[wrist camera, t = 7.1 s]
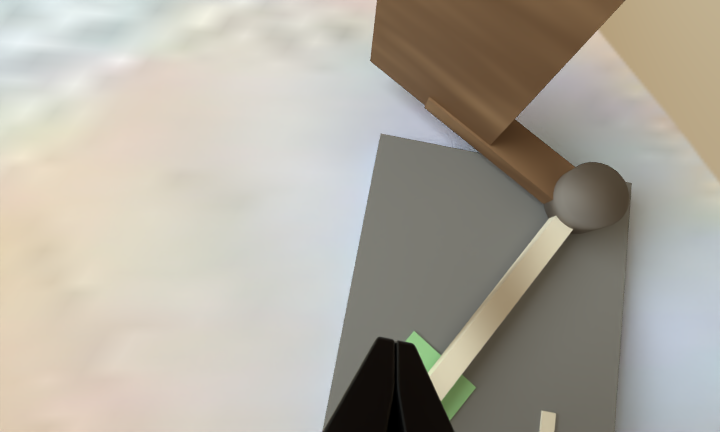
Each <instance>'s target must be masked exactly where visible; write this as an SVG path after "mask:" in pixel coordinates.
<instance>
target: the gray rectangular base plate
mask: <svg viewBox="0 0 720 432" xmlns="http://www.w3.org/2000/svg"><path fill="white" fill-rule="evenodd" d="M625 183H626V185H627V187H628V191H629V206H628V209H627V211H626V213H625V215H624V216H623V217H622V218H621V219H620V220H619V221H618V222H616V223H615V224H613V225H610V226H607V227H603V228H600V229H596V230H593V231H589V232H586V233H582V234H571V233H570V234H569V235H568V237H567V238H566V239H565V241H564V242H563V243H562V245H561V246H560V247H559V248H558V250H557V251H556V252H555V254H554V255H553V256H552V258H551V259H550V260H549V261H548V263H547V264H546V265H545V267H544V268H543V269H542V271H541V272H540V273H539V274H538V276H537V277H536V278H535V280H534V281H533V282H532V284H531V285H530V286H529V287H528V289H527V290H526V291H525V293H524V294H523V295H522V297H521V298H520V299H519V300H518V302H517V303H516V304H515V306H514V307H513V308H512V310H511V311H510V312H509V314H508V315H507V316H506V317H505V319H504V320H503V321H502V323H501V324H500V325H499V327H498V328H497V329H496V330H495V332H494V333H493V334H492V336H491V337H490V338H489V340H488V341H487V342H486V343H485V345H484V346H483V347H482V349H481V350H480V351H479V353H478V354H477V355H476V356H475V358H474V359H473V360H472V362H471V363H470V364H469V366H468V367H467V368H466V369H465V371H464V372H463V373H462V375H461V376H460V377H459V379H458V380H457V381H456V382H455V384H454V385H453V386H452V388H451V389H450V390H449V392H448V393H447V394H446V395H445V397H444V398H443V399H442V401H441V403H442V405H443V407H444V409H445V411H446V414H447V416H448V418H449V420H450V422H451V424H452V427H453V429H454V431H455V432H614V429H615V414H616V400H617V386H618V371H619V357H620V343H621V328H622V314H623V300H624V285H625V271H626V256H627V242H628V228H629V213H630V199H631V185H632V183H629V182H625ZM548 219H549V218H548V216H547V214H546V212H545V208H544V204H543V203H542V202H540V201H539V200H538V199H537V198H535V197H534V196H533V195H532V194H530V193H529V192H528V191H527V190H526V189H524V188H523V187H522V186H521V185H519V184H518V183H517V182H516V181H514V180H513V179H512V178H511V177H509V176H508V175H507V174H506V173H504V172H503V171H502V170H501V169H500V168H498V167H497V166H496V165H495V164H493V163H492V162H491V161H490V160H488V159H487V158H486V157H485V156H483V155H482V154H481V153H477V152H472V151H466V150H461V149H456V148H451V147H446V146H441V145H436V144H431V143H426V142H421V141H416V140H411V139H406V138H401V137H395V136H390V135H385V134H381V135H380V140H379V145H378V150H377V155H376V160H375V165H374V170H373V175H372V180H371V186H370V191H369V196H368V201H367V206H366V211H365V216H364V221H363V227H362V232H361V237H360V242H359V247H358V252H357V257H356V262H355V267H354V273H353V278H352V283H351V288H350V293H349V298H348V303H347V308H346V314H345V319H344V324H343V329H342V334H341V339H340V344H339V349H338V354H337V360H336V365H335V370H334V375H333V380H332V385H331V390H330V395H329V401H328V406H327V411H326V416H325V421H324V426H323V430H324V428H325V426H326V425H327V423H328V421H329V419H330V418H331V416H332V414H333V412H334V411H335V409H336V407H337V405H338V404H339V402H340V400H341V398H342V397H343V395H344V393H345V391H346V390H347V388H348V386H349V384H350V383H351V381H352V379H353V377H354V376H355V374H356V372H357V370H358V369H359V367H360V365H361V363H362V362H363V360H364V358H365V356H366V355H367V353H368V351H369V349H370V348H371V346H372V344H373V342H374V341H375V339H376V338H377V337H385V338H390V339H393V340H394V341H395V342H396V341H398V340H400V341H405V342H410V343H413V344H414V345H415V346H416V348H417V350H418V353H419V355H420V357H421V359H422V361H423V364H424V366H425V368H426V370H427V372H429V370H430V369H431V368H432V367H433V365H434V364H435V363H436V362H437V360H438V359H439V358H440V356H441V355H442V354H443V353H444V351H445V350H446V349H447V348H448V346H449V345H450V344H451V342H452V341H453V340H454V339H455V337H456V336H457V335H458V334H459V332H460V331H461V330H462V328H463V327H464V326H465V325H466V323H467V322H468V321H469V320H470V318H471V317H472V316H473V314H474V313H475V312H476V311H477V309H478V308H479V307H480V306H481V304H482V303H483V302H484V300H485V299H486V298H487V297H488V295H489V294H490V293H491V292H492V290H493V289H494V288H495V286H496V285H497V284H498V283H499V281H500V280H501V279H502V278H503V276H504V275H505V274H506V272H507V271H508V270H509V269H510V267H511V266H512V265H513V264H514V262H515V261H516V260H517V258H518V257H519V256H520V255H521V253H522V252H523V251H524V250H525V248H526V247H527V246H528V244H529V243H530V242H531V241H532V239H533V238H534V237H535V236H536V234H537V233H538V232H539V230H540V229H541V228H542V227H543V225H544V224H545V223H546V222H547V220H548ZM322 432H323V431H322Z"/></svg>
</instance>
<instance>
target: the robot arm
mask: <svg viewBox="0 0 720 432" xmlns="http://www.w3.org/2000/svg"><path fill="white" fill-rule="evenodd" d="M323 432H455V431H454V429H453V427H452V424H451V422H450V420H449V418H448V416H447V414H446V411H445V409H444V407H443V405H442V403H441V400H440V398H439V396H438V394H437V392H436V390H435V387H434V385H433V383H432V381H431V379H430V377H429V374H428V372H427V370H426V368H425V366H424V364H423V361H422V359H421V357H420V355H419V353H418V350H417V348H416V346H415V345H414V344H413V343H410V342H405V341H400V340H398V341H396V342H395V341H394V340H393V339H390V338H385V337H377V338H376V339H375V341H374V342H373V344H372V346H371V348H370V349H369V351H368V353H367V355H366V356H365V358H364V360H363V362H362V363H361V365H360V367H359V369H358V370H357V372H356V374H355V376H354V377H353V379H352V381H351V383H350V384H349V386H348V388H347V390H346V391H345V393H344V395H343V397H342V398H341V400H340V402H339V404H338V405H337V407H336V409H335V411H334V412H333V414H332V416H331V418H330V419H329V421H328V423H327V425H326V426H325V428H324V430H323Z"/></svg>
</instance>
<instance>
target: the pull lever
mask: <svg viewBox="0 0 720 432" xmlns="http://www.w3.org/2000/svg"><path fill="white" fill-rule="evenodd" d="M624 1H625V0H377V6H376V15H375V23H374V32H373V41H372V50H371V59H370V61H371V62H372V63H373V64H375V65H376V66H377V67H378V68H380V69H381V70H382V71H383V72H384V73H386V74H387V75H388V76H389V77H391V78H392V79H393V80H394V81H396V82H397V83H398V84H399V85H401V86H402V87H403V88H404V89H405V90H407V91H408V92H409V93H410V94H412V95H413V96H414V97H415V98H417V99H418V100H419V101H420V102H422V103H423V104H424V105H425V107H424V108H425V109H427V110H428V111H429V112H430V113H432V114H433V115H434V116H435V117H436V118H438V119H439V120H440V121H441V122H443V123H444V124H445V125H446V126H448V127H449V128H450V129H451V130H453V131H454V132H455V133H456V134H458V135H459V136H460V137H461V138H462V139H464V140H465V141H466V142H467V143H469V144H470V145H471V146H472V147H474V148H475V149H476V150H477V151H479V152H480V153H481V154H482V155H483V156H485V157H486V158H487V159H488V160H490V161H491V162H492V163H493V164H495V165H496V166H497V167H498V168H500V169H501V170H502V171H503V172H504V173H506V174H507V175H508V176H509V177H511V178H512V179H513V180H514V181H516V182H517V183H518V184H519V185H521V186H522V187H523V188H524V189H526V190H527V191H528V192H529V193H530V194H532V195H533V196H534V197H535V198H537V199H538V200H539V201H540V202H542V203H543V204H544V208H545V212H546V214H547V216H548V218H549V219H548V220H547V222H546V223H545V224H544V225H543V227H542V228H541V229H540V230H539V232H538V233H537V234H536V236H535V237H534V238H533V239H532V241H531V242H530V243H529V244H528V246H527V247H526V248H525V250H524V251H523V252H522V253H521V255H520V256H519V257H518V258H517V260H516V261H515V262H514V264H513V265H512V266H511V267H510V269H509V270H508V271H507V272H506V274H505V275H504V276H503V278H502V279H501V280H500V281H499V283H498V284H497V285H496V286H495V288H494V289H493V290H492V292H491V293H490V294H489V295H488V297H487V298H486V299H485V300H484V302H483V303H482V304H481V306H480V307H479V308H478V309H477V311H476V312H475V313H474V314H473V316H472V317H471V318H470V320H469V321H468V322H467V323H466V325H465V326H464V327H463V328H462V330H461V331H460V332H459V334H458V335H457V336H456V337H455V339H454V340H453V341H452V342H451V344H450V345H449V346H448V348H447V349H446V350H445V351H444V353H443V354H442V355H441V356H440V358H439V359H438V360H437V362H436V363H435V364H434V365H433V367H432V368H431V369H430V370H429V372H428V374H429V377H430V379H431V381H432V383H433V385H434V387H435V390H436V392H437V394H438V396H439V398H440V400H441V401H442V399H443V398H444V397H445V395H446V394H447V393H448V392H449V390H450V389H451V388H452V386H453V385H454V384H455V382H456V381H457V380H458V379H459V377H460V376H461V375H462V373H463V372H464V371H465V369H466V368H467V367H468V366H469V364H470V363H471V362H472V360H473V359H474V358H475V356H476V355H477V354H478V353H479V351H480V350H481V349H482V347H483V346H484V345H485V343H486V342H487V341H488V340H489V338H490V337H491V336H492V334H493V333H494V332H495V330H496V329H497V328H498V327H499V325H500V324H501V323H502V321H503V320H504V319H505V317H506V316H507V315H508V314H509V312H510V311H511V310H512V308H513V307H514V306H515V304H516V303H517V302H518V300H519V299H520V298H521V297H522V295H523V294H524V293H525V291H526V290H527V289H528V287H529V286H530V285H531V284H532V282H533V281H534V280H535V278H536V277H537V276H538V274H539V273H540V272H541V271H542V269H543V268H544V267H545V265H546V264H547V263H548V261H549V260H550V259H551V258H552V256H553V255H554V254H555V252H556V251H557V250H558V248H559V247H560V246H561V245H562V243H563V242H564V241H565V239H566V238H567V237H568V235H569V234H570V233H571V234H582V233H586V232H589V231H593V230H596V229H600V228H603V227H607V226H610V225H613V224H615V223H616V222H618V221H619V220H620V219H621V218H622V217H623V216H624V215H625V213H626V211H627V209H628V206H629V191H628V187H627V185H626V183H625V181H624V179H623V178H622V177H621V175H620V174H619V173H618V172H617V171H616V170H614V169H613V168H611V167H609V166H608V165H605V164H602V163H597V162H588V163H584V164H581V165H579V166H577V167H574V166H573V165H572V164H571V163H569V162H568V161H567V160H566V159H564V158H563V157H562V156H560V155H559V154H558V153H557V152H555V151H554V150H553V149H552V148H550V147H549V146H548V145H547V144H545V143H544V142H543V141H541V140H540V139H539V138H538V137H536V136H535V135H534V134H533V133H531V132H530V131H529V130H528V129H526V128H525V127H524V126H523V125H521V124H520V123H519V122H517V121H516V120H515V118H516V117H517V116H518V115H519V114H520V113H521V112H522V111H523V110H524V108H525V107H526V106H527V105H528V104H529V103H530V102H531V101H532V100H533V99H534V98H535V97H536V96H537V95H538V93H539V92H540V91H541V90H542V89H543V88H544V87H545V86H546V85H547V84H548V83H549V82H550V81H551V80H552V78H553V77H554V76H555V75H556V74H557V73H558V72H559V71H560V70H561V69H562V68H563V67H564V66H565V64H566V63H567V62H568V61H569V60H570V59H571V58H572V57H573V56H574V55H575V54H576V53H577V52H578V51H579V49H580V48H581V47H582V46H583V45H584V44H585V43H586V42H587V41H588V40H589V39H590V38H591V37H592V35H593V34H594V33H595V32H596V31H597V30H598V29H599V28H600V27H601V26H602V25H603V24H604V23H605V22H606V20H607V19H608V18H609V17H610V16H611V15H612V14H613V13H614V12H615V11H616V10H617V9H618V8H619V6H620V5H621V4H622V3H623V2H624Z"/></svg>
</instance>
